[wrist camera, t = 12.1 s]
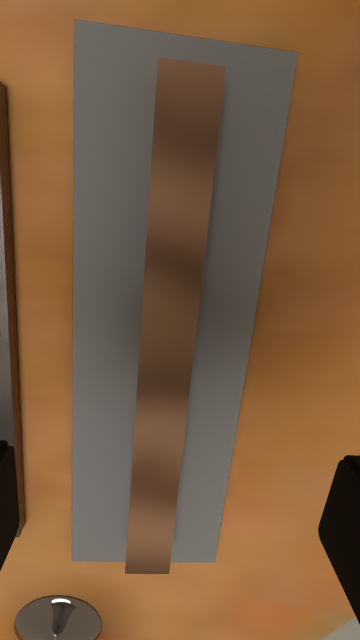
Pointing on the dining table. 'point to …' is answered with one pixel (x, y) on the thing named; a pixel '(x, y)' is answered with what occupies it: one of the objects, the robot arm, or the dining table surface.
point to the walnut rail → (171, 298)
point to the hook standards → (9, 316)
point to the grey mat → (129, 263)
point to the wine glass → (57, 620)
